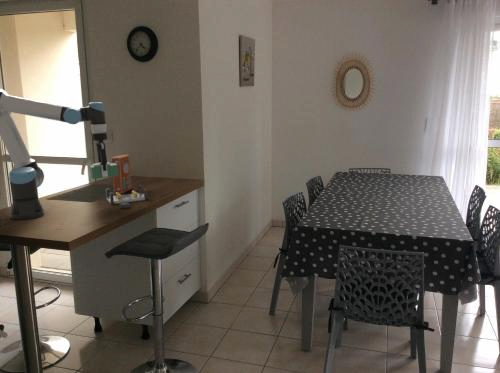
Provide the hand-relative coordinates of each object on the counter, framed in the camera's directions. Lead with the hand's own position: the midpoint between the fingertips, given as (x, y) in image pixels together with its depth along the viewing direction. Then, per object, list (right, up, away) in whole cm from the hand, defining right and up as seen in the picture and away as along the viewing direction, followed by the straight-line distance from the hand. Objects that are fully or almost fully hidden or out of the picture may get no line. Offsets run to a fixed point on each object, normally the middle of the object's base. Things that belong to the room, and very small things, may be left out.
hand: (104, 175), depth 244 cm
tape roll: (+12, -17, -3) cm, 21 cm away
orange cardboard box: (0, -9, +36) cm, 37 cm away
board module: (0, 0, 0) cm, 1 cm away
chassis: (+9, -13, +14) cm, 21 cm away
